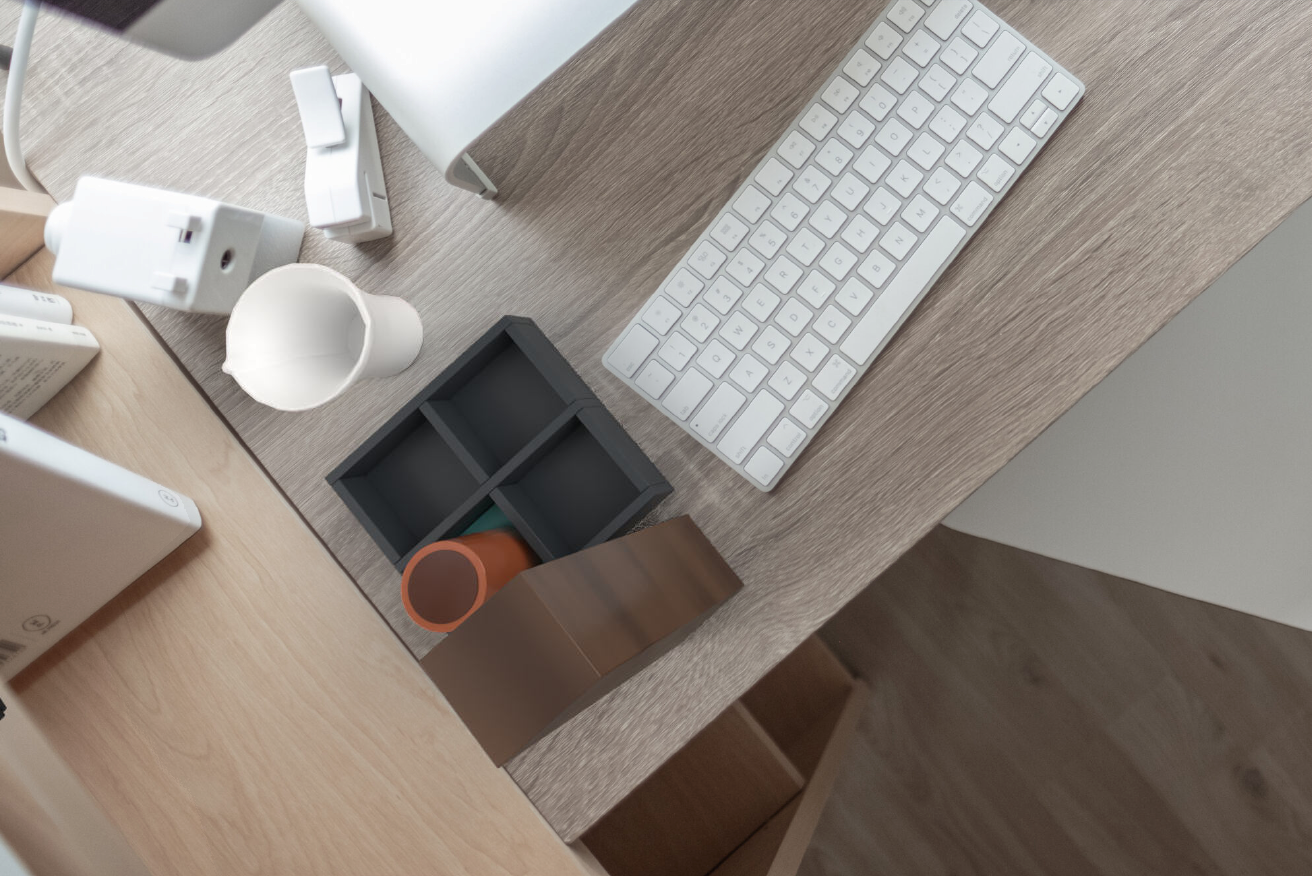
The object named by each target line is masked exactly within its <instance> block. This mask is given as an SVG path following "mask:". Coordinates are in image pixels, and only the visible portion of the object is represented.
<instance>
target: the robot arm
mask: <svg viewBox="0 0 1312 876" xmlns="http://www.w3.org/2000/svg"><path fill="white" fill-rule="evenodd" d="M7 708H8V707H7V706H6V704H5V702H4V701H3V699H2V698H1V697H0V721H2V720H3V719H4V718H5V717H6V714H5V712H6V711H7Z"/></svg>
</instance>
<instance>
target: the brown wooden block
mask: <svg viewBox="0 0 1312 876" xmlns="http://www.w3.org/2000/svg"><path fill="white" fill-rule="evenodd" d="M744 587H745V584H744V582H743V581H742V579H740V577H739V576H738V575H737V573H736V572H735V571H734V570H733V568H732V567H731V566H730V564H728V562H727V561H726V560H725V558H724V557H723V556H722V555H721V554H720V552H719V551H718V550H717V549H716V547H715V546H714V545H713V544H712V542H711V541H710V539H709V538H708V537H707V536H706V535H705V533H704V532H703V531H702V529H700V527H699V526H698V525H697V524H696V522H695V521H694V520H693V519H692V518H691V516H690V515H689V513H686V514H683V515H679V516H677V517H674V518H671V519H668V520H665V521H662V522H660V523H657V524H653V525H651V526H648V527H645V528H642V529H639V530H637V531H634V532H631V533H627V534H626V535H625V536H622V537H619V538H616V539H613V540H611V541H608V542H605V543H602V544H599V545H596V546H593V547H590V548H588V549H585V550H582V551H579V552H576V553H573V554H570V555H567V556H565V557H562V558H559V559H556V560H553V561H550V562H547V563H544V564H542V565H539V566H536V567H533V568H530V569H527V570H524V571H521V572H519V573H518V574H517V575H516V576H515V577H513V578H512V579H511V580H510V581H509V582H508V583H507V584H506V585H504V586H503V587H502V588H501V589H500V590H499V591H498V592H496V593H495V594H494V595H493V596H492V597H491V598H490V599H488V600H487V601H486V602H485V603H484V604H483V605H482V606H480V607H479V608H478V609H477V610H476V611H475V612H474V613H472V614H471V615H470V616H469V617H468V618H467V619H466V620H464V621H463V622H462V623H461V624H460V625H459V626H458V627H456V628H455V629H454V630H453V631H452V632H451V633H450V634H449V635H448V634H446V636H445V637H443V638H442V640H441V641H439V642H438V643H437V644H436V645H435V646H434V647H432V648H431V649H430V650H429V651H428V652H427V653H425V655H423V656H422V657H421V658H419V660H418V664H419V665H420V666H421V668H422V669H423V670H424V672H425V674H427V676H428V677H429V678H430V680H431V681H432V683H433V685H435V687H436V688H437V690H438V691H439V692H440V693H441V695H442V696H443V697H444V699H445V700H446V701H447V703H448V704H449V705H450V707H451V708H452V710H453V711H454V712H455V714H456V715H457V716H458V717H459V719H460V721H461V722H462V724H464V726H465V727H466V729H467V730H468V731H469V733H470V734H471V735H472V737H473V738H474V739H475V740H476V742H477V744H478V745H479V746H480V747H481V748H482V750H483V752H484V753H485V754H486V755H487V757H488V758H489V759H490V761H491V763H493V765H494V766H495V767H496V769H501V768H502V767H503V766H505V765H506V764H508V763H509V762H511V761H512V760H513V759H515V758H516V757H518V756H520V755H521V754H522V753H524V752H525V751H527V750H528V749H530V748H532V746H534V745H536V744H537V743H539V742H540V741H542V740H543V739H544V738H545V737H547V736H549V735H550V734H551V733H552V732H554V731H556V730H557V729H559V728H560V727H561V726H563V725H564V724H566V723H568V722H569V721H570V720H573V718H575V717H577V716H578V715H580V713H582V712H584V711H585V710H586V709H588V708H590V707H591V706H593V705H594V704H595V703H597V702H599V700H601V699H603V698H604V697H606V696H607V695H608V694H610V693H611V692H613V691H614V690H616V689H617V688H618V687H620V686H622V685H623V684H624V683H626V682H627V681H629V680H630V679H632V678H633V677H634V676H636V675H638V674H639V673H641V672H642V671H643V670H645V669H646V668H648V667H649V666H650V665H652V664H654V663H655V662H656V661H658V660H660V659H661V658H662V657H664V656H665V655H667V654H668V653H670V652H671V651H672V650H674V649H676V648H677V647H678V646H679V645H680V644H681V643H682V642H683V641H685V640H686V639H687V638H688V637H689V636H690V635H691V634H692V633H694V632H695V631H696V630H697V629H698V628H699V627H700V626H701V625H703V624H704V622H706V621H707V620H708V619H709V618H711V617H712V616H713V615H714V614H715V613H716V612H718V610H719V609H721V607H723V606H724V605H725V604H727V602H728V601H729V600H731V598H733V597H734V596H735V595H736V594H737V593H739V592H740V590H742V589H743V588H744Z"/></svg>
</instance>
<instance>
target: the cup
mask: <svg viewBox="0 0 1312 876" xmlns="http://www.w3.org/2000/svg"><path fill="white" fill-rule="evenodd" d="M423 342H424V324H423V322H422V320H421V316H420V314H419V312H418V310H417V309H416V308H415V307H414V306H413V305H412V304H411V303H410V302H408V301H406V300H404V299H403V298H401V297H400V296H394V295H389V294H388V295H387V294H375V295H374V294H371V293H369V292H366V291H364V290H362V289H360V288H358V287H357V286H356V284H354V282H353V281H352V280H351V279H350V278H349V277H348V276H346V275H344V274H342V273H341V272H339V271H337V270H336V269H333V268H331V267H330V266H326V265H323V264H320V263H310V262H309V263H307V262H306V263H303V262H292V263H289V264H286V265H281V266H278V267H275V268H272V269H270V270H269V271H267V272H265V273H264V274H262V275H261V276H259V277H258V278H256V279H255V280H254V281H253V282H251V284H250V285H248V287H247V288H246V289H245V290H244V291H243V293H241V295H240V297H239V298H238V300H237V302H236V304H235V305H234V306H233V309H232V311H231V314H230V316H229V320H228V323H227V326H226V329H225V348H226V350H225V352H226V357H225V361H224V362H223V363H222V366H221V369H222V372H223V373H225V374H227V375H231V376H232V378H233V379H234V380H235V382H236V383H237V385H239V387H240V388H241V389H242V390H243V391H244V392H245V393H247V394H248V395H249V396H250V397H251V398H252V399H254V401H256V402H258V403H260V404H263V405H266V406H267V407H270V408H273V409H275V410H277V411H281V412H293V413H299V412H306V411H311V410H315V409H319V408H322V407H324V406H326V405H328V404H330V403H333V402H334V401H335V400H337V399H338V398H340V397H341V396H342V395H344V394H345V393H347V392H348V391H349V390H350V389H351V388H352V387H353V386H354V384H357V383H358V382H360V381H361V380H366V379H384V378H387V377H392V376H393V377H394V376H397V375H398V374H400V373H402V372H403V371H404V370H406V369H408V368H409V367H411V365H412V364H413V363H414V361H415V360H416V358H417V357H418V355H419V354H420V352H421V349H422V346H423Z"/></svg>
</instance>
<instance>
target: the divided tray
mask: <svg viewBox="0 0 1312 876" xmlns="http://www.w3.org/2000/svg"><path fill="white" fill-rule="evenodd" d="M534 321H535V320H533V319H532V318H531V317H527V316H519V315H512V314H504V315H503V316H502V317H501V318H500V319H498V321H497V322H495V324H493V325H492V326H491V327H490V328H489V329H488V330H487V331H485V332H484V333H483V334H482V335H481V336H480V337H479V338H478V339H476V340H475V342H473V343H472V344H471V345H470V346H468V347H467V349H466V350H464V351H463V352H462V353H461V354H460V355H459V356H458V357H457V358H455V359H454V360H453V361H452V362H451V363H450V364H449V365H448V366H447V367H445V368H444V370H442V371H441V372H440V373H439V374H438V375H437V376H436V377H435V378H433V379H432V380H431V381H430V382H429V383H428V384H426V385H425V386H424V387H423V388H422V389H421V390H420V391H419V392H418V393H417V394H415V396H413V397H412V398H411V399H410V400H409V401H408V402H407V403H405V405H403V406H402V407H401V408H400V409H399V410H398V411H397V412H396V413H395V414H394V415H392V416H391V417H390V418H389V419H388V420H387V421H385V423H384V424H382V425H381V426H380V427H379V428H378V429H377V430H376V431H375V432H373V433H372V434H371V435H370V436H369V437H367V439H366V440H365V441H363V442H362V443H361V444H360V445H359V446H358V447H357V448H356V449H354V450H353V451H352V452H351V453H350V454H349V455H347V457H346V458H345V459H343V461H341V462H340V463H339V464H338V465H337V466H336V467H335V468H333V470H331V471H330V472H329V473H328V474H327V475H326V476H325V477H324V480H325V481H326V483H328V485H329V486H331V489H332V490H333V491H334V492H335V494H336V495H337V496H338V497H339V499H340V500H341V501H342V502H343V504H344V505H345V506H346V508H347V509H348V510H349V511H350V513H351V514H352V516H353V517H354V518H355V519H356V520H357V522H358V523H359V524H360V525H361V527H362V528H363V530H364V531H365V532H366V534H368V535H369V537H370V538H371V539H372V541H373V542H374V543H375V544H376V546H377V547H378V548H379V550H380V551H381V552H382V553H383V555H384V556H385V557H386V558H387V560H388V561H389V562H390V564H391V565H392V566H393V567H394V568H395V571H397V572H398V574H400V576H401V577H402V576H403V573H404V570H405V568H406V566H407V564H408V563H409V561H410V560H411V558H412V557H413V556H414V555H415V554H416V553H417V552H418V551H419V550H421V549H422V548H424V547H425V546H427V545H429V544H432V543H435V542H439V541H443V540H446V539H450V538H454V537H458V536H462V535H466V534H470V533H474V532H478V531H482V530H486V529H490V528H494V527H498V526H512V527H516V529H517V530H518V531H519V532H520V534H521V535H522V536H523V537H524V539H525V540H526V541H527V542H528V543H529V545H530V546H531V547H532V548H533V550H534V551H535V552H536V553H537V555H538V556H539V557H540V558H541V559H542V564H544V563H547V562H550V561H553V560H556V559H559V558H562V557H565V556H567V555H570V554H573V553H576V552H579V551H582V550H585V549H588V548H590V547H593V546H596V545H599V544H602V543H605V542H608V541H611V540H613V539H616V538H619V537H622V536H625V535H628V534H629V532H631V530H633V529H634V528H635V527H636V526H637V525H639V523H640V522H641V521H643V520H644V519H645V518H646V517H647V516H648V515H649V514H650V513H651V512H652V511H654V509H656V508H657V507H659V506H658V505H660V504H661V503H662V502H663V501H665V499H666V498H667V497H668V496H670V495H671V494H672V493H673V492H674V491H675V487H674V486H673V485H672V484H671V483H670V481H669V480H668V479H667V477H666V476H664V475H663V473H662V472H661V470H659V468H658V467H657V466H656V465H655V463H654V462H653V461H652V460H651V459H650V458H649V456H648V455H647V454H646V453H645V452H644V450H642V448H641V447H640V446H639V445H638V443H637V442H636V441H635V440H634V439H633V437H631V435H630V434H629V433H628V431H626V429H625V428H624V427H623V425H622V424H621V423H620V422H619V421H618V419H616V417H615V416H614V415H613V414H612V412H611V411H610V410H609V409H608V408H607V407H606V406H605V404H604V403H603V402H602V401H601V400H600V398H599V397H598V396H597V395H596V394H595V392H593V390H592V388H590V387H589V385H588V384H587V383H586V382H585V381H584V379H583V378H582V377H581V376H580V375H579V373H578V372H577V371H576V370H575V368H574V367H573V366H572V365H571V364H570V363H569V361H567V359H566V358H565V357H564V356H563V355H562V353H561V352H560V351H559V349H558V348H557V347H556V346H555V345H554V344H553V342H552V341H551V340H550V339H549V338H548V336H546V334H545V333H544V332H543V331H542V330H541V328H540V327H539V326H538V325H537V324H536V322H534ZM451 632H452V631H451ZM451 632H445V633H446V635H449V634H450V633H451Z"/></svg>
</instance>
